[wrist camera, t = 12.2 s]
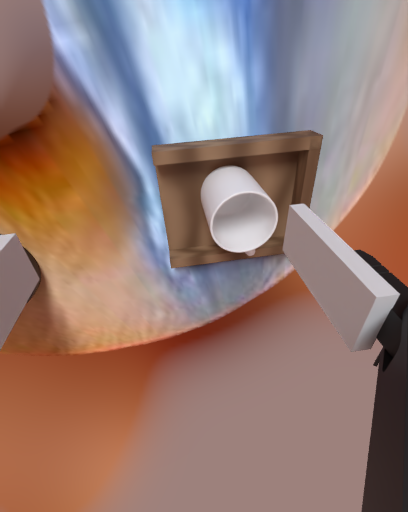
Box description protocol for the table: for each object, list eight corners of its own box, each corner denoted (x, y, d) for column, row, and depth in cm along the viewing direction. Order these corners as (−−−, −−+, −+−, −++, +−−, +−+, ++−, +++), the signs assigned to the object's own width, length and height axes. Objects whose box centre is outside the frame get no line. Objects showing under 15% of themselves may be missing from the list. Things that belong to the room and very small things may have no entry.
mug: (263, 224, 44) (287, 261, 36) (216, 241, 45) (229, 281, 37) (246, 154, 37) (271, 180, 29) (191, 176, 38) (200, 207, 30)
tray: (170, 255, 46) (171, 268, 43) (152, 145, 35) (151, 152, 33) (293, 240, 48) (301, 251, 45) (310, 130, 37) (323, 135, 34)
